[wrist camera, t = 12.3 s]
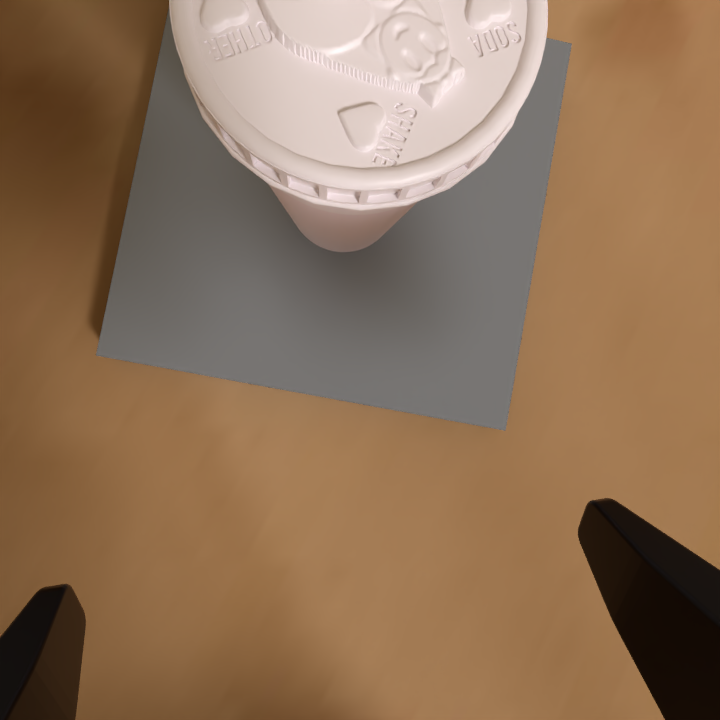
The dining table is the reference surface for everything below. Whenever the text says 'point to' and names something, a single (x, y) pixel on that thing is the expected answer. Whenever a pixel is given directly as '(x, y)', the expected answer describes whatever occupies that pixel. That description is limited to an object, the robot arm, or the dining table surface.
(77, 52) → the dining table surface
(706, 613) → the robot arm
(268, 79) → the smoothie
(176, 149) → the slate trivet
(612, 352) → the dining table surface
